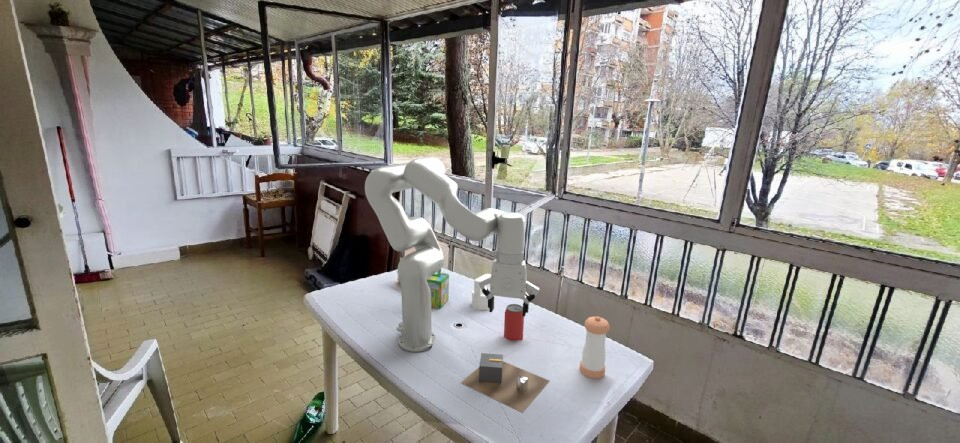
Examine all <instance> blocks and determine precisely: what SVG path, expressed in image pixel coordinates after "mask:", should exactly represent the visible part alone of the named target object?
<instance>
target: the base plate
mask: <svg viewBox="0 0 960 443" xmlns="http://www.w3.org/2000/svg"><path fill="white" fill-rule="evenodd" d="M518 376H524V377H526V378H528V385H527V389H526V390H525V391H524V392H523V393H522V392H519V391H518V390H517V389H516V385H517V377H518ZM550 382H551V380H549V379H547V378H544V377H541V376H539V375H537V374H535V373H532V372H529V371H528V370H525V369H522V368H520V367H517V366H516V365H513V364H510V363H508V362H506V361H504V360H503V366H502V383H493V382H480V381H479V367H478V368H477V369H475V370H474V371H473V372H471V373H470V374H469V375H468V376H467V377H466V378H465V379H463V380H462V381H460V384H462V385H463V386H466V387H468V388H469V389H472V390H474V391H477V392H478V393H481V394H482V395H485V396H487V397H489V398H491V399H492V400H495V401H497V402H499V403H501V404H502V405H505V406H506V407H509V408H512V409H514V410H516V411H518V412H520V413H522V414H523V413H524V412H525V411H526V410H527V409H528V407H529V406H531V403H533V402H534V400H535V399H536V398H537V397H538V396H539V395H540V393H541V392H543V390H544V389H545V388H546V386H548V384H549V383H550Z"/></svg>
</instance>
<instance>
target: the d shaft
mask: <svg viewBox="0 0 960 443" xmlns="http://www.w3.org/2000/svg"><path fill="white" fill-rule="evenodd" d="M527 385H528V378H526V377H524V376H518V377H517V385H516V389H517V390H518V391H519V392H522V393H523V392H524V391H525V390H526V389H527Z"/></svg>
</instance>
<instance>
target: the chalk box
mask: <svg viewBox="0 0 960 443" xmlns="http://www.w3.org/2000/svg"><path fill="white" fill-rule="evenodd" d="M427 283H428V285H429V287H430V290H431V308H436V309H441V308H442V307H443V306H444V305H445V304H446V303H447V301H449V292H450V289H449V288H450V274H449V273H446V272H442V268H441V269H440V270H439V271H438V272H436V273H434V274H433V275H431V276H430V277H428V278H427Z"/></svg>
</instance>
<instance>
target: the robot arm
mask: <svg viewBox="0 0 960 443" xmlns="http://www.w3.org/2000/svg"><path fill="white" fill-rule="evenodd" d="M411 189H416V190H417V191H418V192H419V193H421V194H422V195H423V196H425V197H426V198H427V199H429V200H430V201H431V202H433V203H434V204H435V205H437V206H438V207H439V210H440V213H441V215H442V216H443V218H444V220H445V221H446V223H447V224H448V225H449V226H450V227H451V228H452V229H453V230H454V231H456V232H458V234H460V235H462V237H464V238H465V239H468V240H470V241H473V242H480V241H484V240H486V239H487V238H489V237H491V236H493V235H496V250H494V251H493V250H492V251H491V256H492V257H494V258H495V259H494V260H493V262H492V266H491V271H490V272H491V273H490V274H491V278H489V279H486V280H483V281H481V282H480V283H479V286H480V288H481V290H482V293H483V294H484V295H485V296H486V297H487V299H488V308H489V310H488V312H489V313H493V310H494V309H495V296H496V297H502V298H509V299H510V298H511V299H521V300H522V301H523V303H522V307H523V313H522V316H523V317H524V318H525V317H526V314H529V307H530V306H529V305H530V303H531V302H532V301H533V300H534V299H535V298H536V297H537V295H538V294H539V292H540V287H538V286H536V285H534V284H533V283H531V282H530V281H528V273H527V263H526V261H525V260H524V253H525V252H524V250H525V249H524V247H525V229H526V227H525V225H526V219H525V216H524V215H523V214H521V213H520V212H512V211H510V212H508V211H503V210H501V209H497V208H494V207H487V208H484V209H482V210H479V211H477V212H474V211H472V210H470V208H467V207H466V206H465V205H464V204H463V203H462V202H461V201H460V200H459V198H458V196H457V195H458V192H459V185H458V183H457V182H456V181H454V180H453V179H452V178H450V177H449V176H447V175H446V167H445V165H444V163H443V161H442V160H440V159H439V158H437V157H434V156H426V157H420V158H415V159H412V160H410V161H408V162H405V163H399V164H398V163H397V164H392V165H385V166H382V167H378V168H375V169H373V170H372V171H371V172H369V174H368V175H367V177H366V179H365V182H364V193H365V197H366V199H367V202H368V204H369V205H370V206H371V208H372V210H373V211H374V213H375V214H376V216H377V218H378V220H379V223H380V225H381V228H382V230H383V232H384V234H385V236H386V238H387V241H388V243H389V244H390V247H392V249H393V250H394V251H396V252H406V251H408V250H410V249H412V248H413V249H415V251H413V252H410V253H408V254H405V256H403V257H402V258H401V259H400V260H399V263H398V265H397V275H398V278H399V283H400V290H401V291H400V293H401V308H402V309H401V312H402V314H401V315H402V317H401V319H402V320H401V321H400V322H398V326H397V327H396V329H395V330H396V331H398V332H400V336H399V337H398V341H397V342H398V347H400V348H401V349H402V350H404V351H406V352H411V353H420V352H425V351H427V350H430V349H431V348H432V347H433V346H434V345H433V344H434V342H435V339H436V338H437V337H436V334H435V333H434V332H433V331H432V330H433V329H432V307H431V290H430V287H429V285H428V283H427V278H428V277H430V276H431V275H433V274H434V273H436V272H438V271H439V270H440V269H441V270H442V268H443V267H444V264H445V255H444V252H443V250H442V247H441V245H440V243H439V241H438V239H437V237H436V234H435V232H434V230H433V228H432V226H431V224H430V223H429V222H428V221H427V220H426V219H425V218H423V217H421V216H417V215H416V216H411V217H409V216H408V214H406V212H405V209H404V207H403V205H402V204H401V203H400V201H399V200H398V199H397V198H395V197H394V195H393V193H397V192H402V191H405V190H411ZM487 284H490V291H489V290H488V289H487V288H486V286H485V285H487ZM528 289H529V290H530V291H532V293H530V294H528V293H527V290H528ZM494 295H495V296H494Z"/></svg>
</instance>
